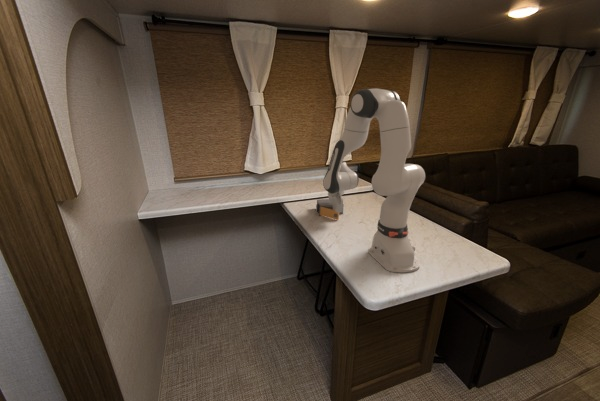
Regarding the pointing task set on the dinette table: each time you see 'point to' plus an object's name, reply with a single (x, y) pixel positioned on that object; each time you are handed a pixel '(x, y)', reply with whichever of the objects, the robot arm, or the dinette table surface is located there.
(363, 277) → the dinette table surface
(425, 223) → the dinette table surface
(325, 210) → the side door
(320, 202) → the camera block
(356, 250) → the dinette table surface
